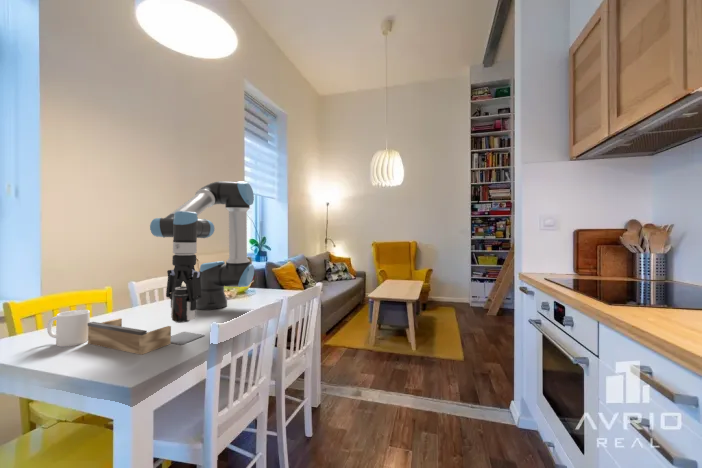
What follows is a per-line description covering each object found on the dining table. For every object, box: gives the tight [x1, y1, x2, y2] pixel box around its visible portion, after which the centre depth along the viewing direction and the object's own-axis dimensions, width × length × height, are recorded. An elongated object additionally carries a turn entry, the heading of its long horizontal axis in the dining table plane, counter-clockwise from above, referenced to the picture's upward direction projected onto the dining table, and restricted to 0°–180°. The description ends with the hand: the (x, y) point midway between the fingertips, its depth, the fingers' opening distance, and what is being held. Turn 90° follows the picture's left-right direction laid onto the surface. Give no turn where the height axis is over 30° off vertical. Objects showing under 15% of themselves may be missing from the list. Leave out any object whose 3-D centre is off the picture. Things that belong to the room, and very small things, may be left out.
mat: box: [171, 331, 206, 346], centre depth 108 cm, size 10×10×1 cm
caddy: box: [87, 317, 172, 355], centre depth 102 cm, size 10×25×7 cm, turn 71°
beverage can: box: [171, 285, 191, 324], centre depth 108 cm, size 7×7×12 cm
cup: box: [46, 309, 91, 348], centre depth 102 cm, size 8×12×10 cm
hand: (183, 318), depth 108 cm, fingers closed on beverage can, 7 cm apart
